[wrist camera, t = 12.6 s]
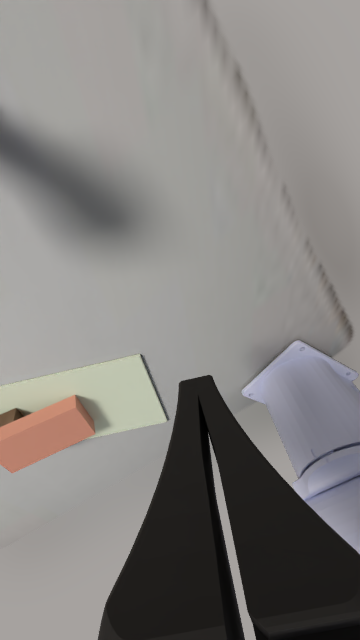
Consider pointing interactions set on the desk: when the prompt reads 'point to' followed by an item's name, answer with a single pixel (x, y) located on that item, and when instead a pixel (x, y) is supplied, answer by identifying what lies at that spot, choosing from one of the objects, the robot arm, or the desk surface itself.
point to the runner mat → (94, 394)
